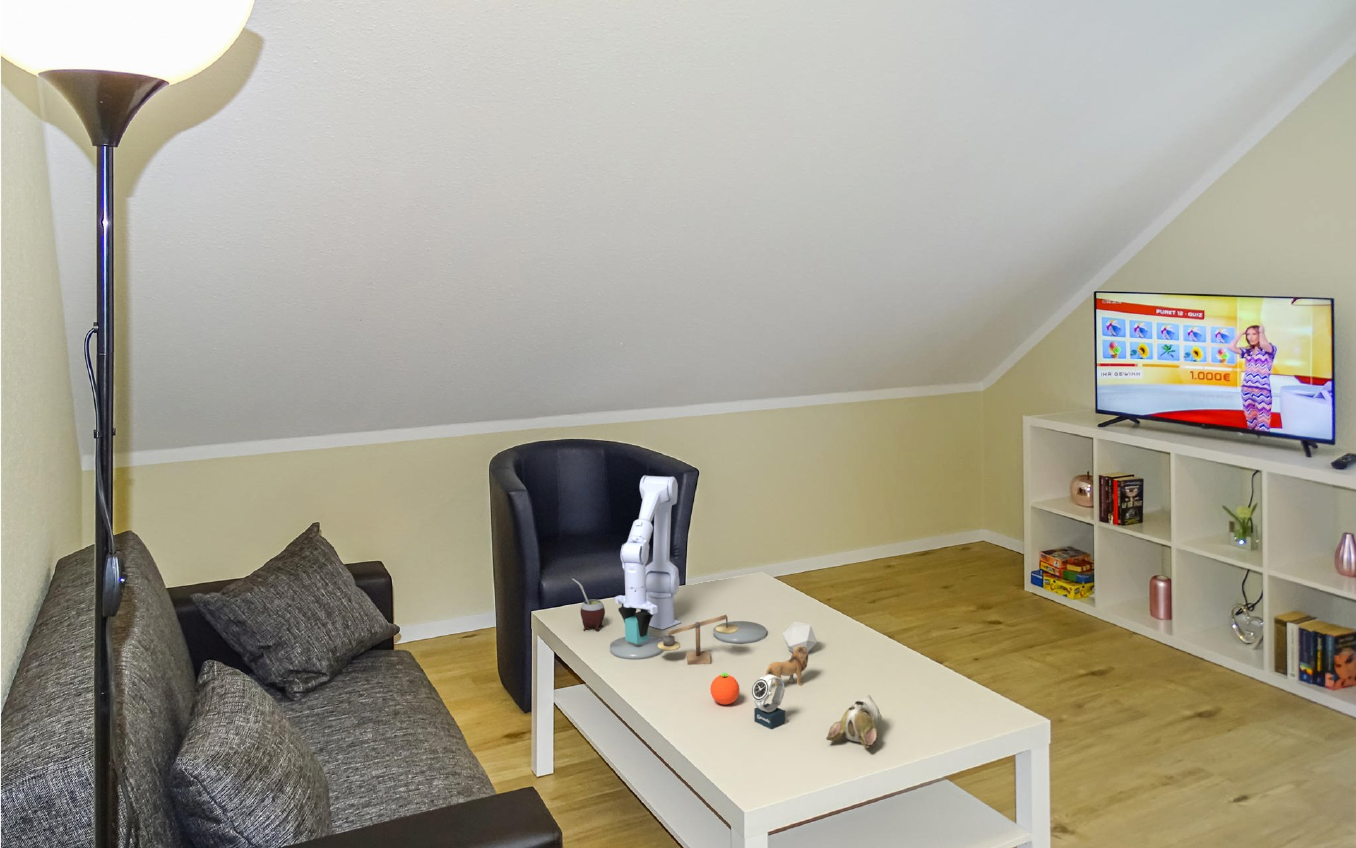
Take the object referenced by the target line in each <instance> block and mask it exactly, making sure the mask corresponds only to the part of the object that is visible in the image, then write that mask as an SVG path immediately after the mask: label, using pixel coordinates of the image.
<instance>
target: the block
mask: <svg viewBox="0 0 1356 848" xmlns="http://www.w3.org/2000/svg"><path fill="white" fill-rule="evenodd" d="M624 631H625V632H624V633H625V635H624V637H625V640H626V641H629V642H632V643H635V644H639V643H641V642H644V641H646V640H649V636H650V634H649V633H650V631H649V629H648V631H647V635H646V636H643V637H640V634H639V627H638V621H637V618H636V616H632V617H630V618H627V619H625V623H624Z"/></svg>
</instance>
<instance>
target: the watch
mask: <svg viewBox="0 0 1356 848" xmlns="http://www.w3.org/2000/svg"><path fill="white" fill-rule="evenodd" d="M775 679H776V681H777V687H775V690H774V694H773V692H772V686H773V680H775ZM785 691H786V689H785V684H784V681H783V679H782V677H781V678H779V677H777V676H774V675H771V674H768V675H766V674H765V675H763V676H761V677H760V678H759V679H756V681H754V683H753V685H752V688H751V695H752V699H753V702H754V705H755V706H756V707H755V708H754V711H753V713H754V717H753V719H754V722H755V723H756V724H759V725H761V726H763V727H766V728H767V729H770V730H774V729H776V728H779V727H781V726H783V725H785V724H786V710H785V709H782V708H780V707H779V706H781V704H782V702H783V699H784V696H785ZM772 695H773V697H772V698H771V703H766V701H768V699H769V698H770V697H771V696H772Z"/></svg>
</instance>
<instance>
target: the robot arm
mask: <svg viewBox="0 0 1356 848" xmlns="http://www.w3.org/2000/svg"><path fill="white" fill-rule="evenodd" d="M639 481H640V482H639V492H640V496H641V499H642V501H641V506H640V511H639V515H638V519H635V520H634V521H633V523H632V526H631V529H630V531H629V535H628V538H627V541H626V542H625V543H622V545H621V549H620V561H621V564H622V569H623V571H624V589H625V590H624V591H625V594H624V595H621V594H620V595H616V596H615V597H614V599H615V605H619V604H620V605H621V606H620V607H618V608H617V609H618V613H619V614H620V616H621V618H622V620H623V623H624V624H625V619H627V618H630V617H632V616H636V618H637V621H638V627H639V634H640V637H643V636H646V635H647V631H648V630H649V627H651V628H655V629H658V630H665V629H668V628H670V627H671V628H672V627H674V626H675V625H679V624H681V620H679V619H678V620H677V619H675V608H674V607H675V606H674V605H675V603H674V602H675V601H674V600H675V595H676V594H677V593H678V591H679V589H680V576H679V568H678V567H677V566H676V565H675V564H673V562H671V561H670V555H671V553H670V551H671V550H670V549H671V525H672V524H671V523H672V506H673V505H676V504H677V502H678V493H679V489H678V487H679V485H678V482H677V479H676V478H675V476H655V475H643V476H642V477H641V479H640V480H639ZM652 521H654V522H653V524H652ZM652 533H653V544H652V545H653V548H652V550H653V551H652V561H651V562H649V564H647V562H648V560H649V554H650V553H649V552H650V551H649V550H650V539H651V537H652ZM646 564H647V565H646ZM637 610H640V611H637Z"/></svg>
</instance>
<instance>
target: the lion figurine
mask: <svg viewBox="0 0 1356 848" xmlns="http://www.w3.org/2000/svg"><path fill="white" fill-rule="evenodd" d="M808 663H809V651H807V649H806V647H804V646H800V645H799V646H797V647H795V648H794V649H793V652H792V654H791V657H790V659H788V660H785V661H773V662H771V663H770V664H768V667H767V670H766V672H765V675H768V674H771V675H774V676H777V677H779V678H781V679H782V676H783V677H789V680H788V681H789V682H790V683H792V684H793V683H795V679H794V675H796V677H797V678H796V683H797V685H798V686H803V685H804V684H803V682H801V681H802V673H803V672H804V671H805V670H806V668H807V666H808ZM774 682H775V683H774V687H775V688H777V681H776V679H774Z"/></svg>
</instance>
